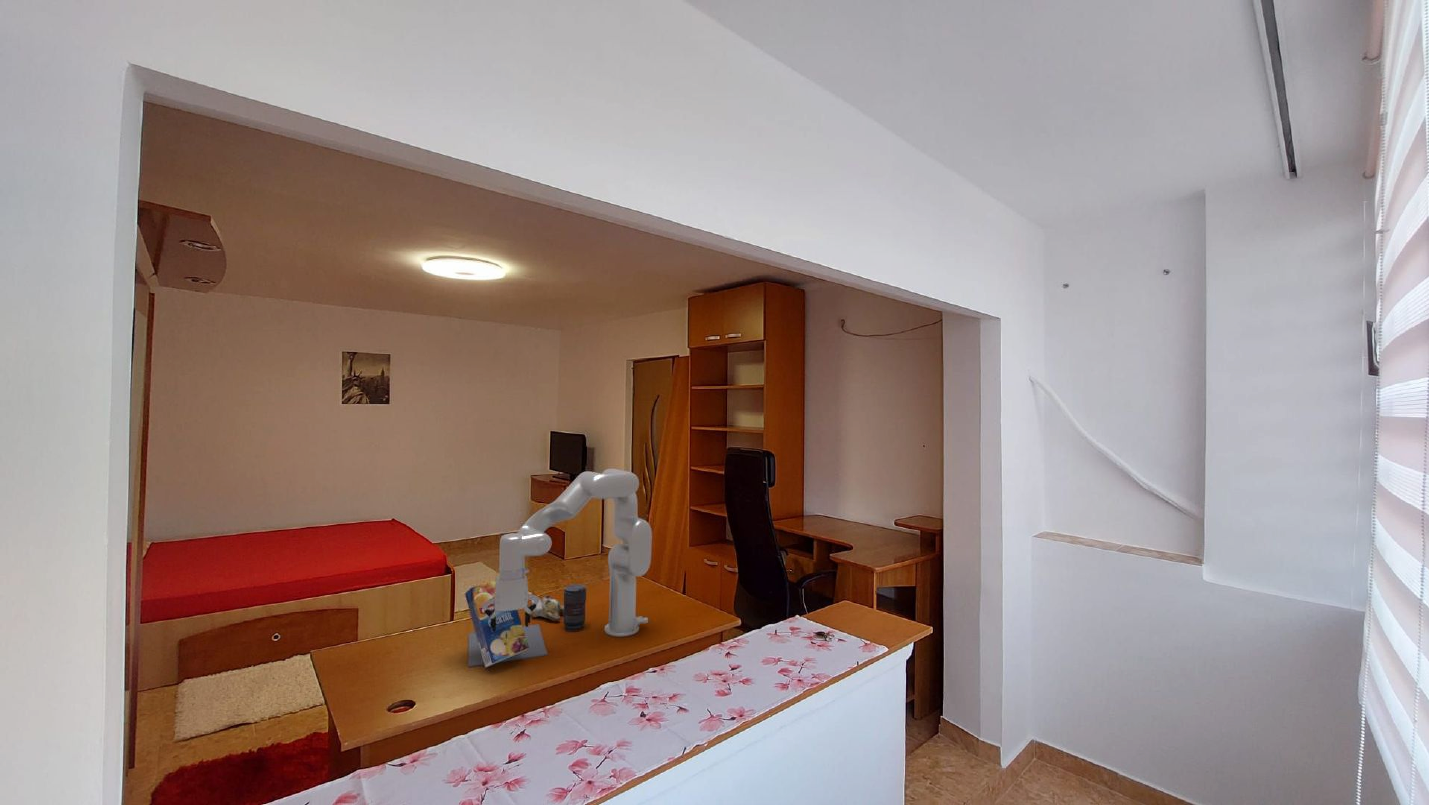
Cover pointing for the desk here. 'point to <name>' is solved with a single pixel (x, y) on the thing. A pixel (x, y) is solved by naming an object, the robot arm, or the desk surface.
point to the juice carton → (508, 627)
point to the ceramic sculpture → (548, 608)
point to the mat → (534, 650)
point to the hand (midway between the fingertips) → (510, 627)
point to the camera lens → (574, 607)
